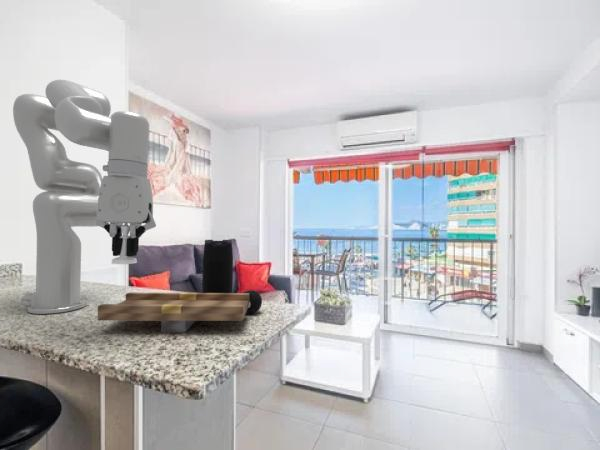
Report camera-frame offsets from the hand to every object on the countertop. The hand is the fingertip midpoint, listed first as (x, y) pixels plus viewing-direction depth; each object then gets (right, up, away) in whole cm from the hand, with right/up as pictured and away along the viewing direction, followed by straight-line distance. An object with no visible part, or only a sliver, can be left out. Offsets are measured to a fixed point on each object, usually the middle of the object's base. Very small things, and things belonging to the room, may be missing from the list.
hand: (125, 254), depth 67 cm
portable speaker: (+15, -17, +20) cm, 30 cm away
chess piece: (0, -2, 0) cm, 2 cm away
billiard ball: (+25, -17, +15) cm, 34 cm away
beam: (+11, -17, +4) cm, 20 cm away
